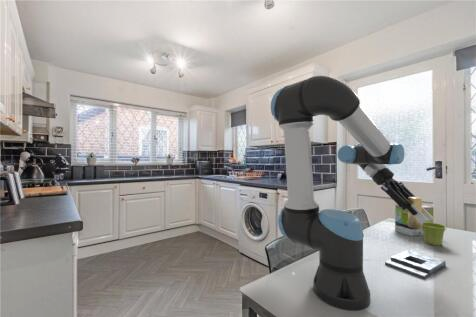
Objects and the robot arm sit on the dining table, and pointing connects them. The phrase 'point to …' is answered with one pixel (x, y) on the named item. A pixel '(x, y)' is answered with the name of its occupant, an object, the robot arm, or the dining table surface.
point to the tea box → (402, 221)
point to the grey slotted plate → (428, 261)
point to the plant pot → (433, 233)
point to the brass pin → (411, 219)
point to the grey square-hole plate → (410, 268)
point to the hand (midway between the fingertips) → (427, 221)
